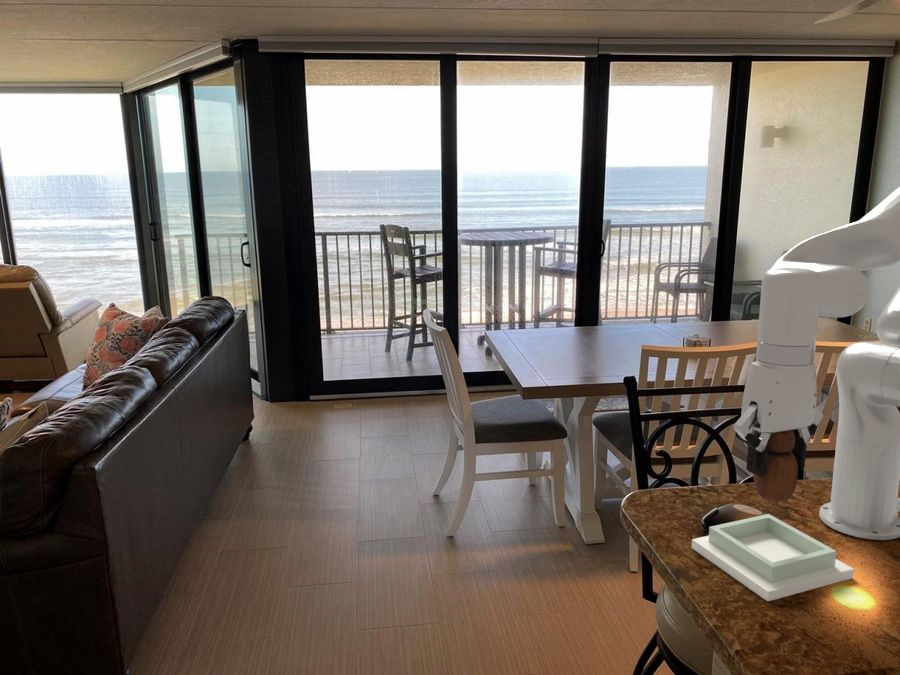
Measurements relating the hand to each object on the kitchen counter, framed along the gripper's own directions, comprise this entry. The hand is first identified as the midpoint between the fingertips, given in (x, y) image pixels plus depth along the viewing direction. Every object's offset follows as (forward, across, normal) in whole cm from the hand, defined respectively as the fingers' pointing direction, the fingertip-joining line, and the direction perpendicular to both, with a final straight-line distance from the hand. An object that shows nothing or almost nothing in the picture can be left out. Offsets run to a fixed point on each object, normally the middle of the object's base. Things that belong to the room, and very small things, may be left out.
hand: (775, 468), depth 101 cm
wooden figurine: (+5, 0, 0) cm, 5 cm away
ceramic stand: (+15, 0, 0) cm, 15 cm away
